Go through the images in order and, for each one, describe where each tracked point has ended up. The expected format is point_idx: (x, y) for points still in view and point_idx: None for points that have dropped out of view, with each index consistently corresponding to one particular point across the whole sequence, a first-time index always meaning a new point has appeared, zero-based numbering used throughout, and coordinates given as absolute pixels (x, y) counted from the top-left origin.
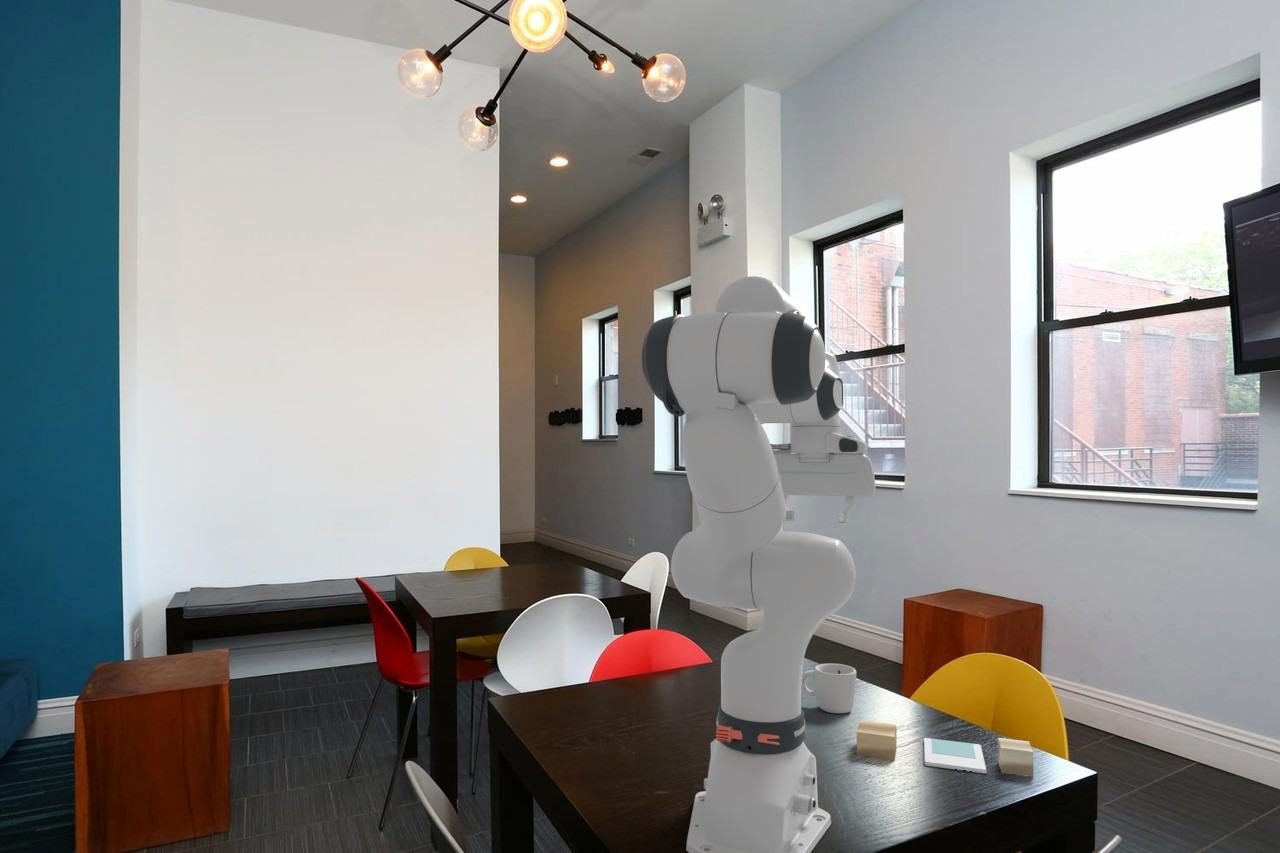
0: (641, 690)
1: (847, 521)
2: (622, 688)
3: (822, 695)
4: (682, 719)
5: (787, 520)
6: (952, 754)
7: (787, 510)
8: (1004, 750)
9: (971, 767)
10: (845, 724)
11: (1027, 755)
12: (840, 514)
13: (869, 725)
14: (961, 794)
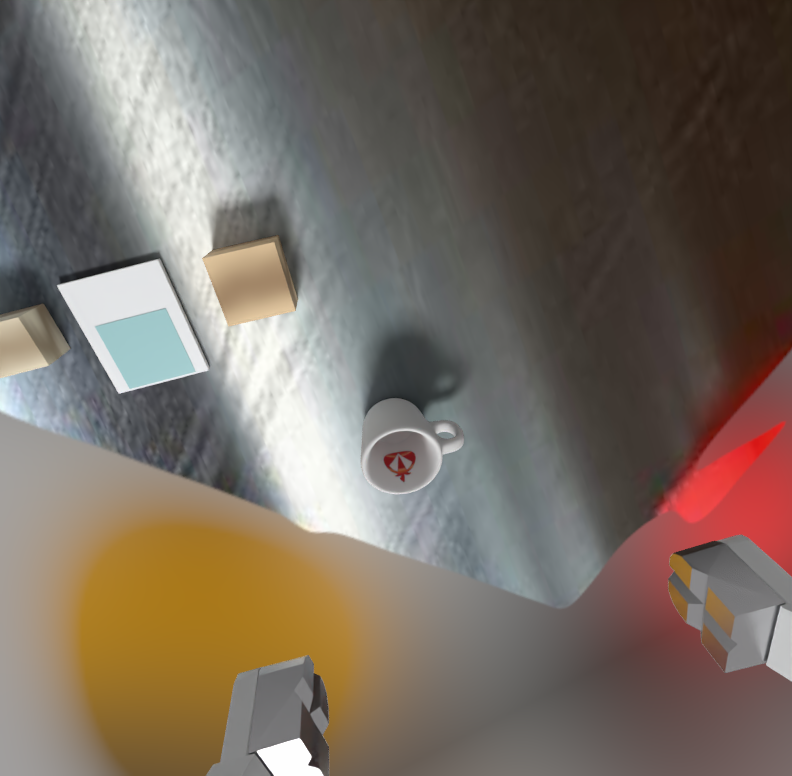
0: (736, 313)
1: (237, 678)
2: (773, 302)
3: (410, 408)
4: (621, 214)
5: (714, 542)
6: (134, 320)
7: (788, 607)
8: (15, 317)
9: (81, 281)
10: (352, 366)
11: None
12: (285, 722)
13: (268, 292)
14: (47, 159)
